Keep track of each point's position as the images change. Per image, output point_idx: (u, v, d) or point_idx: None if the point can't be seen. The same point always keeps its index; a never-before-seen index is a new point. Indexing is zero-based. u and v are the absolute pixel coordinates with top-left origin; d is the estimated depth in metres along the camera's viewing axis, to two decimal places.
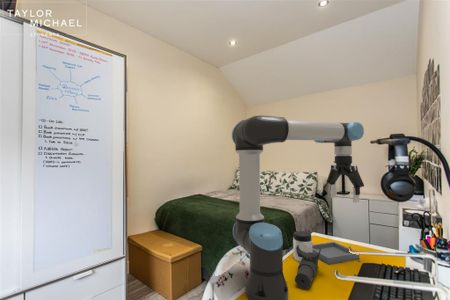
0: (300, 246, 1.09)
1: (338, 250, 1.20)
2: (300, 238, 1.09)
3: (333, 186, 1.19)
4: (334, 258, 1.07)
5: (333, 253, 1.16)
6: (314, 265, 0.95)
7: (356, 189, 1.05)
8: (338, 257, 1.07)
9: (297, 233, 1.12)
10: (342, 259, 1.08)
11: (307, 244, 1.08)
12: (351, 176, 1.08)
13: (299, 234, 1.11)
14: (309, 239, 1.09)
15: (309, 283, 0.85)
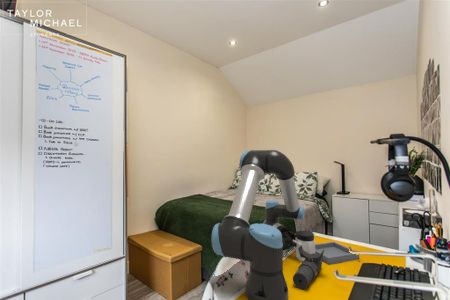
0: (304, 246, 1.09)
1: (338, 250, 1.20)
2: (303, 238, 1.09)
3: None
4: (334, 258, 1.07)
5: (333, 253, 1.16)
6: (315, 266, 0.94)
7: None
8: (338, 257, 1.07)
9: (300, 233, 1.13)
10: (342, 259, 1.08)
11: (310, 243, 1.09)
12: None
13: (302, 233, 1.12)
14: (312, 238, 1.09)
15: (306, 283, 0.85)
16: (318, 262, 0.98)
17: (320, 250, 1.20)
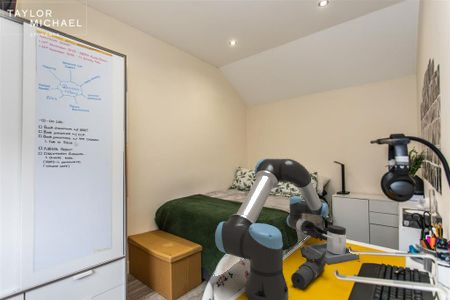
0: (338, 239, 1.14)
1: None
2: (339, 232, 1.14)
3: None
4: (334, 258, 1.07)
5: None
6: (316, 267, 0.93)
7: None
8: (338, 257, 1.07)
9: (333, 227, 1.18)
10: (342, 259, 1.08)
11: (344, 237, 1.15)
12: None
13: (336, 227, 1.17)
14: (345, 232, 1.16)
15: (304, 283, 0.85)
16: (320, 263, 0.97)
17: (320, 250, 1.20)
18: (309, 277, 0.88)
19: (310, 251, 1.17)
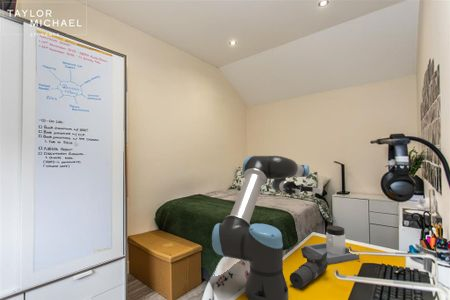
0: (337, 240, 1.14)
1: None
2: (337, 233, 1.14)
3: None
4: (334, 258, 1.07)
5: None
6: (316, 268, 0.93)
7: None
8: (338, 257, 1.07)
9: (331, 228, 1.18)
10: (342, 259, 1.08)
11: (343, 237, 1.15)
12: None
13: (334, 228, 1.17)
14: (344, 232, 1.16)
15: (302, 283, 0.85)
16: (321, 264, 0.96)
17: (320, 250, 1.20)
18: (308, 277, 0.88)
19: (310, 251, 1.17)
